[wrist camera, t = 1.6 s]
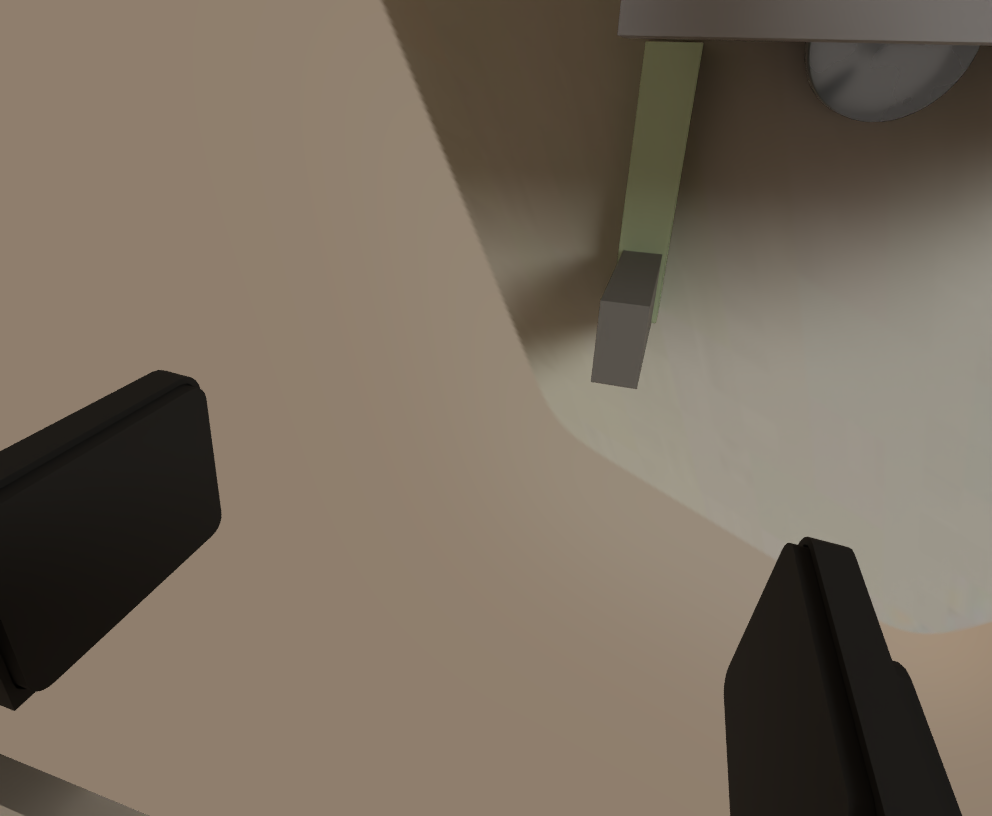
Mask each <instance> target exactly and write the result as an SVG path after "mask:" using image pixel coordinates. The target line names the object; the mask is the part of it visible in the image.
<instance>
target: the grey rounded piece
mask: <svg viewBox="0 0 992 816" xmlns="http://www.w3.org/2000/svg"><path fill="white" fill-rule="evenodd" d="M979 47H980V45H934V44H886V43H838V42H806V47H805V69H806V74H807V78H808V81H809V83H810V86H811V88H812V90H813V91H814V93H815V95H816V96H817V97H818V98H819V100H820V101H821V102H822V103H823V104H825V105H826V106H827V107H828V108H830V109H831V110H833V111H835V112H836V113H839V114H841V115H843V116H846V117H848V118H851V119H854V120H858V121H865V122H883V121H889V120H894V119H898V118H902V117H905V116H907V115H910V114H912V113H915V112H917V111H919V110H921V109H923V108H924V107H926V106H928V105H929V104H931V103H932V102H934V101H935V100H937V99H938V98H939V97H941V96H942V95H943V94H944V93H946V92H947V91H948V90H949V89H950V88H951V87H952V86H953V85H954V84H955V83H956V82H957V81H958V80H959V78H960V77H961V76H962V75H963V74H964V72H965V71H966V70H967V68H968V67H969V65H970V64H971V62H972V61H973V59H974V57H975V55H976V53H977V51H978V50H979Z"/></svg>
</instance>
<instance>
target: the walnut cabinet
mask: <svg viewBox="0 0 992 816" xmlns="http://www.w3.org/2000/svg"><path fill="white" fill-rule="evenodd" d="M617 35H618V36H621V37H624V38H646V39H694V40H742V41H790V42H838V43H886V44H934V45H983V46H992V0H621V6H620V15H619V24H618V34H617Z"/></svg>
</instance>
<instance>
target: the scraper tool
mask: <svg viewBox="0 0 992 816" xmlns="http://www.w3.org/2000/svg"><path fill="white" fill-rule="evenodd" d="M702 50H703V43H696V42H655V41H645V49H644V57H643V65H642V72H641V80H640V88H639V96H638V103H637V111H636V119H635V127H634V134H633V142H632V150H631V158H630V165H629V173H628V181H627V189H626V196H625V204H624V212H623V220H622V227H621V235H620V243H619V251H618V258H617V265H616V268H615V270H614V272H613V274H612V276H611V279H610V281H609V283H608V285H607V287H606V290H605V292H604V294H603V296H602V298H601V301H600V309H599V317H598V326H597V334H596V343H595V351H594V359H593V368H592V376H591V382H595V383H601V384H608V385H614V386H620V387H627V388H633V389H637V386H638V381H639V376H640V372H641V367H642V363H643V358H644V353H645V349H646V344H647V339H648V335H649V330H650V326H651V323H656V320H657V315H658V309H659V304H660V298H661V292H662V286H663V280H664V274H665V268H666V262H667V256H668V251H669V245H670V239H671V233H672V227H673V221H674V215H675V209H676V203H677V197H678V192H679V186H680V180H681V174H682V168H683V162H684V156H685V150H686V144H687V139H688V133H689V127H690V121H691V115H692V109H693V103H694V97H695V91H696V85H697V80H698V74H699V68H700V62H701V56H702Z"/></svg>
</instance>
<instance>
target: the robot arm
mask: <svg viewBox="0 0 992 816" xmlns="http://www.w3.org/2000/svg"><path fill="white" fill-rule="evenodd" d="M220 521H221V507H220V499H219V491H218V484H217V477H216V469H215V461H214V453H213V446H212V439H211V431H210V423H209V415H208V408H207V401H206V396H205V393H204V392H203V391H202V390H201V389H200V387H199V384H198V383H197V382H196V380H194V379H193V378H191V377H187V376H183V375H179V374H176V373H172V372H168V371H164V370H157V371H154V372H151V373H149V374H148V375H146V376H144V377H142V378H140V379H138V380H136V381H134V382H132V383H130V384H128V385H126V386H124V387H123V388H121V389H119V390H117V391H115V392H113V393H111V394H109V395H107V396H105V397H104V398H101V399H100V400H98V401H96V402H94V403H92V404H90V405H88V406H86V407H84V408H82V409H80V410H78V411H77V412H75V413H73V414H71V415H69V416H67V417H65V418H63V419H61V420H60V421H57V422H55V423H54V424H52V425H50V426H48V427H46V428H44V429H42V430H40V431H38V432H36V433H34V434H33V435H31V436H29V437H27V438H25V439H23V440H21V441H19V442H17V443H15V444H13V445H11V446H10V447H8V448H6V449H4V450H2V451H0V705H1V706H4V707H6V708H9V709H11V710H14V711H15V710H16V709H17V708H18V707H19V706H20V705H21V704H23V703H24V702H25V701H26V700H27V699H28V698H29V697H30V696H31V695H32V694H34V693H35V692H36V691H41V690H44V689H46V688H48V687H49V686H50V685H52V684H53V683H54V682H55V681H56V680H57V679H58V678H59V677H61V676H62V675H63V674H64V673H65V672H66V671H67V670H68V669H69V668H70V667H71V666H72V665H73V664H75V663H76V662H77V661H78V660H79V659H80V658H81V657H82V656H83V655H84V654H85V653H86V652H87V651H88V650H90V648H92V647H93V646H94V645H95V644H96V643H97V642H98V641H99V640H100V639H101V638H103V637H104V636H105V635H106V634H107V633H108V632H109V631H110V630H111V629H112V628H113V627H114V626H115V625H116V624H118V623H119V622H120V621H121V620H122V619H123V618H124V617H125V616H126V615H127V614H128V613H129V612H131V611H132V610H133V609H134V608H135V607H136V606H137V605H138V604H139V603H140V602H141V601H142V600H143V599H144V598H146V597H147V596H148V595H149V594H150V593H151V592H152V591H153V590H154V589H155V588H156V587H157V586H158V585H160V584H161V583H162V582H163V581H164V580H165V579H166V578H167V577H168V576H169V575H170V574H171V573H173V572H174V571H175V570H176V569H177V568H178V567H179V566H180V565H181V564H182V563H183V562H184V561H185V560H186V559H188V558H189V557H190V556H191V555H192V554H193V553H194V552H195V551H196V550H197V549H198V548H199V547H200V546H201V545H203V544H204V543H205V542H206V541H207V540H208V539H209V538H210V537H211V536H212V535H213V534H214V533H215V532H216V530H217V529H218V527H219V524H220ZM724 706H725V725H726V743H727V762H728V780H729V799H730V816H962V814H961V811H960V809H959V806H958V803H957V801H956V798H955V795H954V793H953V790H952V788H951V785H950V782H949V779H948V777H947V774H946V771H945V769H944V766H943V763H942V761H941V758H940V756H939V753H938V750H937V747H936V744H935V742H934V739H933V736H932V734H931V731H930V728H929V726H928V723H927V720H926V718H925V715H924V712H923V710H922V707H921V704H920V702H919V699H918V696H917V694H916V691H915V688H914V686H913V683H912V680H911V678H910V676H909V674H908V673H907V671H906V669H905V668H904V667H903V666H902V665H901V664H900V663H898V662H896V661H892V659H891V656H890V653H889V651H888V647H887V645H886V642H885V639H884V636H883V633H882V630H881V628H880V625H879V622H878V619H877V616H876V613H875V611H874V608H873V605H872V602H871V599H870V596H869V594H868V591H867V588H866V585H865V582H864V579H863V576H862V574H861V571H860V568H859V565H858V562H857V559H856V557H855V554H854V552H853V550H852V549H850V548H849V547H845V546H841V545H838V544H834V543H830V542H826V541H822V540H818V539H814V538H810V537H804V538H803V539H802V540H801V541H800V543H799V544H798V545H796V544H792V543H787V544H786V545H785V546H784V548H783V549H782V551H781V554H780V556H779V558H778V560H777V562H776V564H775V567H774V569H773V571H772V573H771V575H770V578H769V580H768V582H767V584H766V586H765V589H764V591H763V593H762V595H761V597H760V599H759V602H758V604H757V606H756V608H755V610H754V613H753V615H752V617H751V619H750V621H749V623H748V626H747V628H746V630H745V632H744V634H743V637H742V639H741V641H740V643H739V645H738V648H737V650H736V652H735V654H734V656H733V658H732V661H731V663H730V665H729V668H728V670H727V673H726V678H725V683H724ZM0 816H148V815H146V814H144V813H141V812H139V811H136V810H134V809H131V808H129V807H127V806H124V805H122V804H120V803H117V802H115V801H112V800H110V799H108V798H105V797H102V796H100V795H98V794H96V793H93V792H91V791H88V790H86V789H84V788H81V787H79V786H76V785H74V784H71V783H69V782H67V781H65V780H62V779H60V778H57V777H55V776H52V775H50V774H48V773H45V772H43V771H40V770H38V769H35V768H33V767H31V766H28V765H26V764H23V763H21V762H18V761H16V760H14V759H11V758H9V757H6V756H4V755H1V754H0Z"/></svg>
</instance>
